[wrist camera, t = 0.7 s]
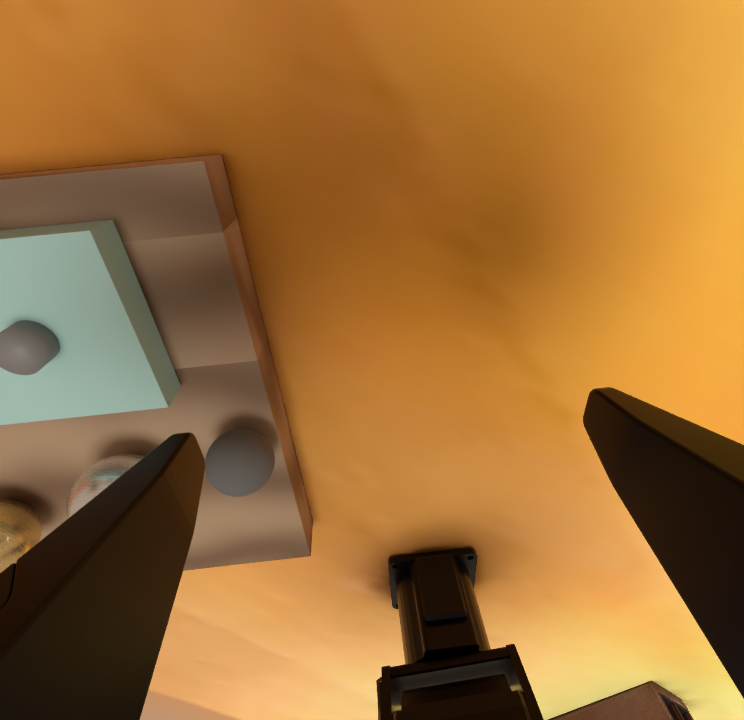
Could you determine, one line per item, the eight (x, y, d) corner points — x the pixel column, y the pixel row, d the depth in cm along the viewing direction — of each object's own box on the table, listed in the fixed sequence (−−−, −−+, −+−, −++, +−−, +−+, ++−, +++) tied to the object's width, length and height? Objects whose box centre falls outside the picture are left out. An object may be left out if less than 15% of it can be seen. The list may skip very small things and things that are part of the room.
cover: (180, 385, 17) (159, 423, 15) (17, 403, 17) (-28, 443, 15) (112, 219, 14) (71, 239, 12) (-97, 239, 14) (-177, 263, 11)
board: (312, 522, 27) (310, 555, 25) (70, 549, 26) (48, 586, 24) (221, 153, 15) (203, 160, 13) (-216, 194, 15) (-304, 207, 13)
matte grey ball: (284, 457, 20) (276, 507, 18) (224, 463, 20) (207, 515, 18) (271, 411, 19) (260, 458, 16) (206, 418, 19) (185, 467, 16)
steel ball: (193, 488, 21) (165, 561, 18) (116, 497, 21) (73, 572, 17) (166, 431, 19) (129, 501, 15) (80, 440, 19) (23, 513, 15)
